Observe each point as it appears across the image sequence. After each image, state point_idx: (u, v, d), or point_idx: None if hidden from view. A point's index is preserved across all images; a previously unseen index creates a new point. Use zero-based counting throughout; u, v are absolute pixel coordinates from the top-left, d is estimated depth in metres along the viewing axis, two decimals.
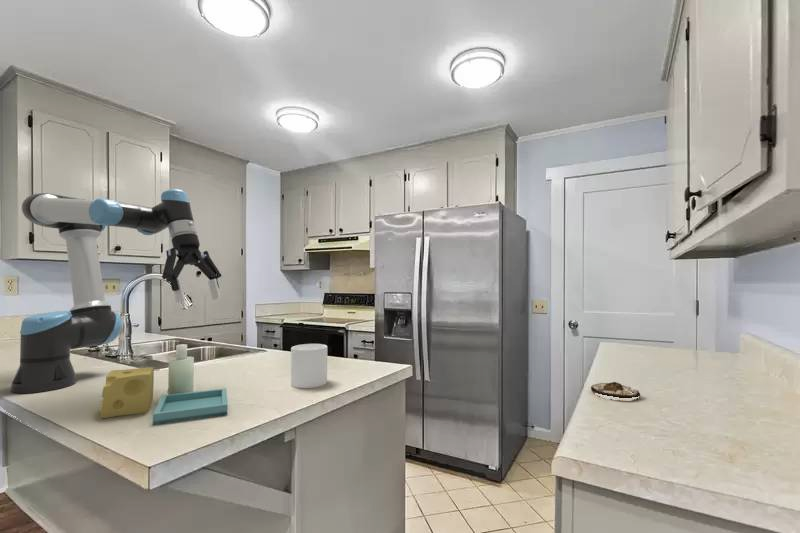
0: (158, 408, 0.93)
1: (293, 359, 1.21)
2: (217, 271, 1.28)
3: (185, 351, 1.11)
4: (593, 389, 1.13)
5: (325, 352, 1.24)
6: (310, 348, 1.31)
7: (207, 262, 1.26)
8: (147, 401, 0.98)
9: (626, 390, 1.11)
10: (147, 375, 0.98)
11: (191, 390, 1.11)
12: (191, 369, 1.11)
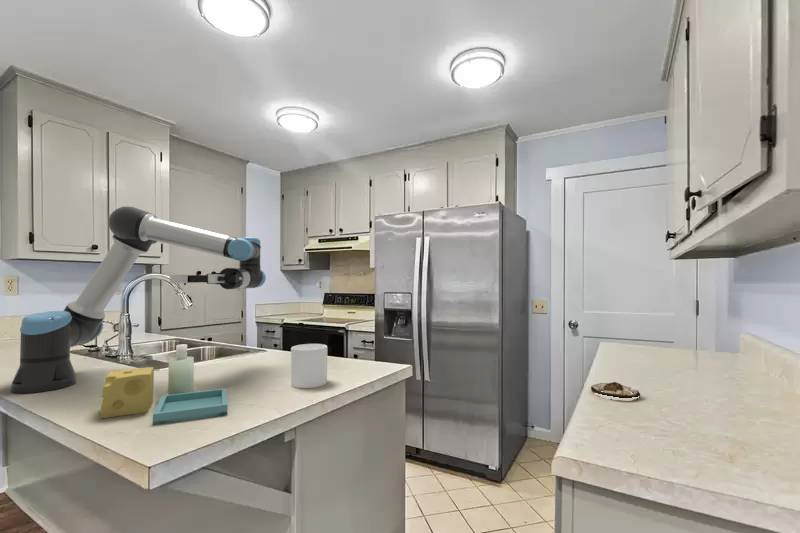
0: (158, 408, 0.93)
1: (293, 359, 1.21)
2: None
3: (185, 351, 1.11)
4: (593, 389, 1.13)
5: (325, 352, 1.24)
6: (310, 348, 1.31)
7: None
8: (147, 401, 0.98)
9: (626, 390, 1.11)
10: (147, 375, 0.98)
11: (191, 390, 1.11)
12: (191, 369, 1.11)
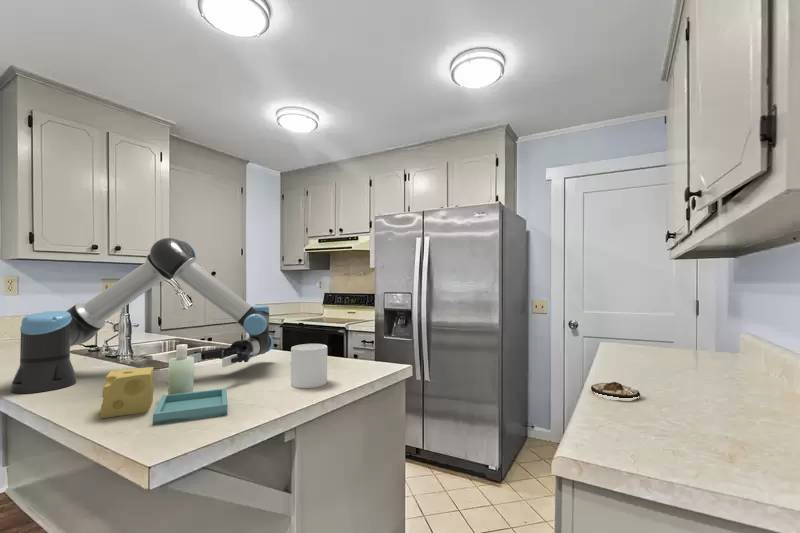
0: (158, 408, 0.93)
1: (293, 359, 1.21)
2: (200, 358, 1.31)
3: (185, 351, 1.11)
4: (593, 389, 1.13)
5: (325, 352, 1.24)
6: (310, 348, 1.31)
7: None
8: (147, 401, 0.98)
9: (626, 390, 1.11)
10: (147, 375, 0.98)
11: (191, 390, 1.11)
12: (191, 369, 1.11)
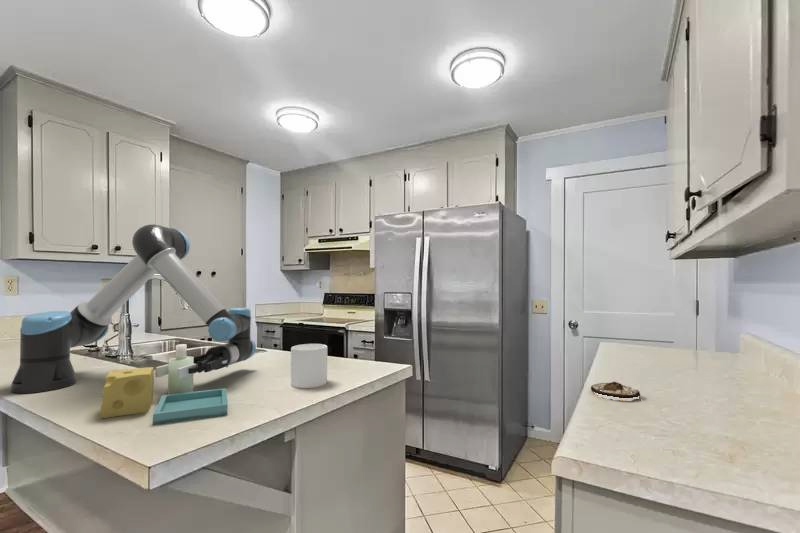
0: (158, 408, 0.93)
1: (293, 359, 1.21)
2: None
3: (185, 351, 1.11)
4: (593, 389, 1.14)
5: (325, 352, 1.24)
6: (310, 348, 1.31)
7: None
8: (147, 401, 0.97)
9: (626, 390, 1.11)
10: (147, 375, 0.98)
11: (191, 390, 1.11)
12: None
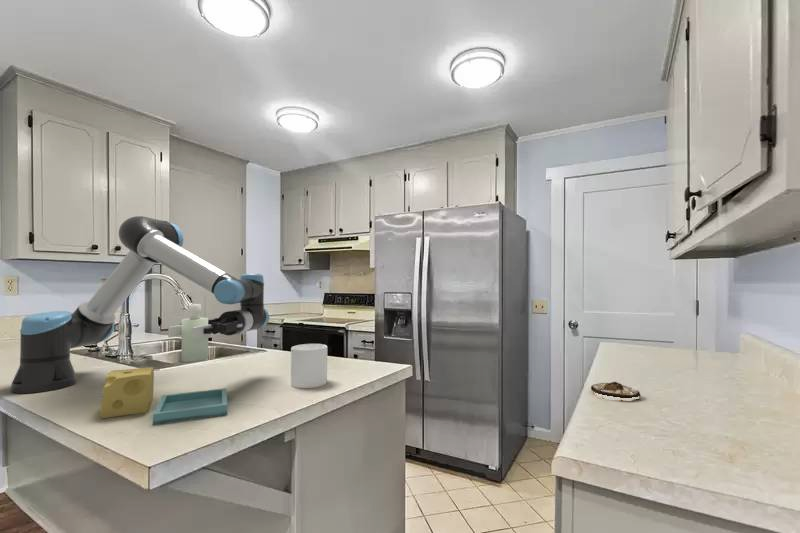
0: (158, 408, 0.93)
1: (293, 359, 1.21)
2: None
3: (199, 311, 1.04)
4: (593, 388, 1.14)
5: (325, 352, 1.24)
6: (310, 348, 1.31)
7: None
8: (147, 401, 0.97)
9: (626, 390, 1.11)
10: (147, 375, 0.98)
11: (206, 352, 1.04)
12: None
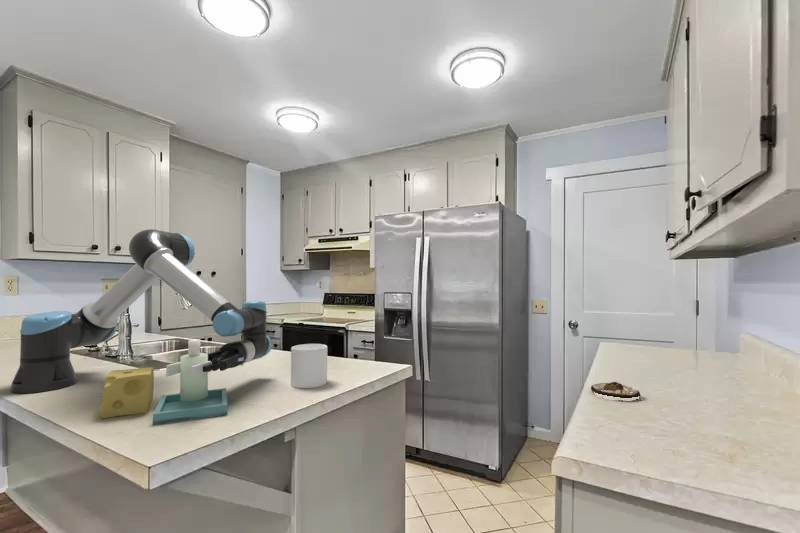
0: (158, 408, 0.93)
1: (293, 359, 1.21)
2: None
3: (198, 347, 1.00)
4: (592, 388, 1.14)
5: (325, 352, 1.24)
6: (310, 348, 1.31)
7: None
8: (147, 401, 0.97)
9: (626, 390, 1.11)
10: (147, 375, 0.98)
11: (206, 390, 1.00)
12: None
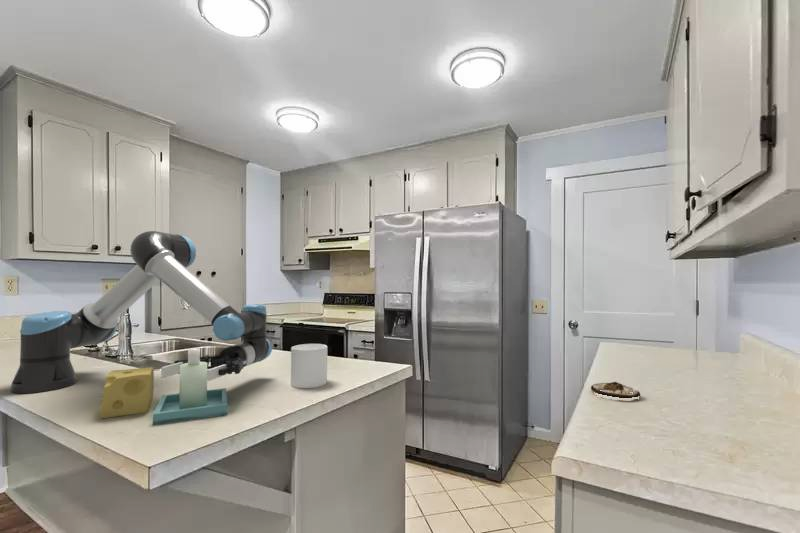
0: (158, 408, 0.93)
1: (293, 359, 1.21)
2: None
3: (198, 356, 1.00)
4: (592, 388, 1.14)
5: (325, 352, 1.24)
6: (310, 348, 1.31)
7: None
8: (147, 401, 0.97)
9: (626, 390, 1.11)
10: (147, 375, 0.98)
11: (205, 399, 1.00)
12: (205, 376, 1.00)
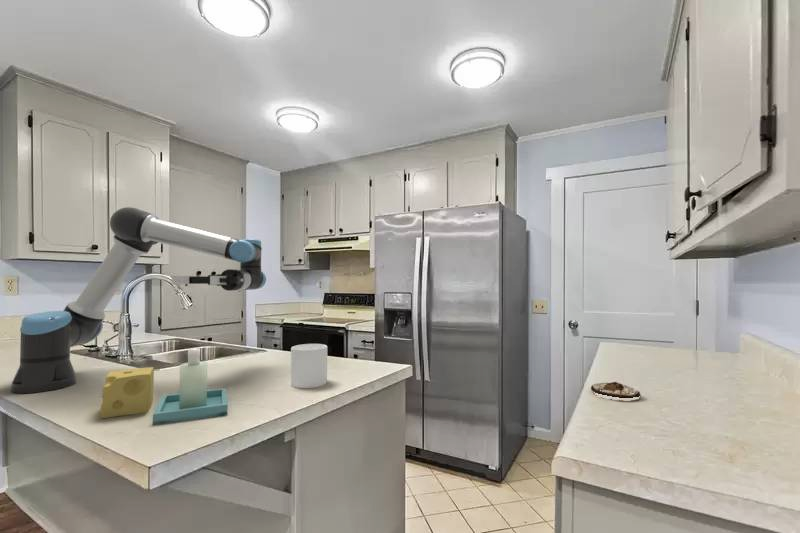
0: (158, 408, 0.93)
1: (293, 359, 1.21)
2: None
3: (198, 356, 1.00)
4: (592, 388, 1.14)
5: (325, 352, 1.24)
6: (310, 348, 1.31)
7: None
8: (147, 401, 0.97)
9: (626, 390, 1.10)
10: (147, 375, 0.98)
11: (205, 399, 1.00)
12: (205, 376, 1.00)
